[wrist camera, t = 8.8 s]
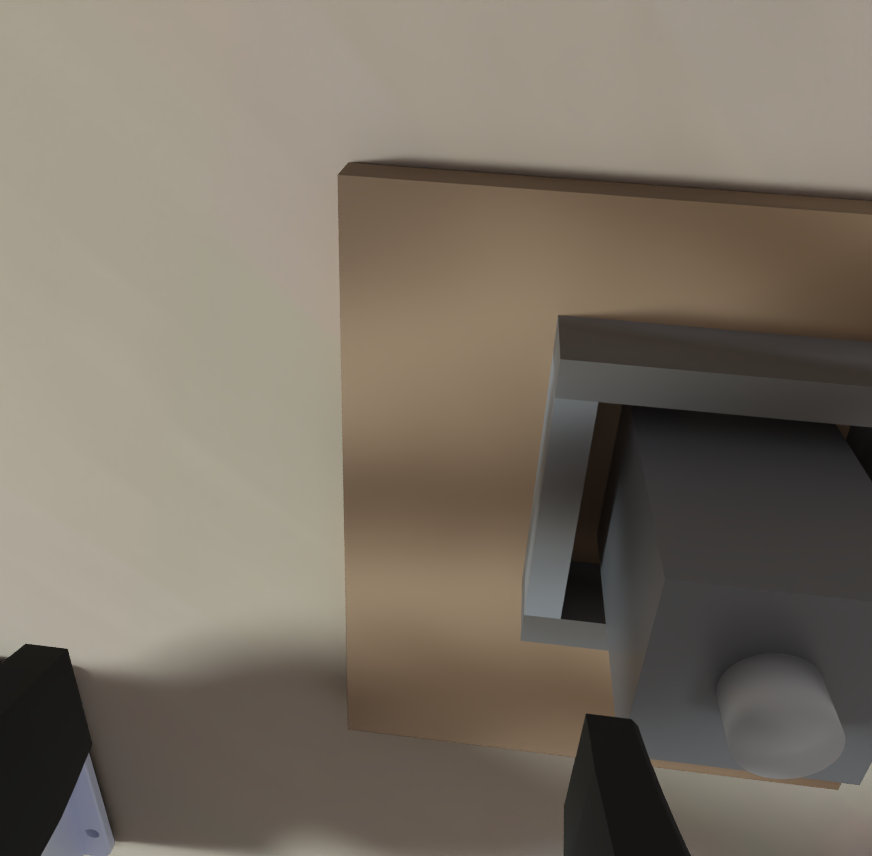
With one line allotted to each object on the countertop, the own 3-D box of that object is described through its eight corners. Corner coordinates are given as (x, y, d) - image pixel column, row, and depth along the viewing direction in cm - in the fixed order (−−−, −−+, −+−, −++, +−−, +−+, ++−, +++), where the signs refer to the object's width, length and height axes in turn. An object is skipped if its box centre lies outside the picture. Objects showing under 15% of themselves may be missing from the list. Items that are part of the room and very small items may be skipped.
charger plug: (770, 552, 18) (881, 842, 12) (597, 534, 19) (624, 808, 13) (823, 403, 16) (985, 664, 10) (626, 384, 17) (675, 629, 11)
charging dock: (826, 758, 23) (863, 859, 21) (354, 701, 24) (333, 790, 22) (1084, 216, 15) (1197, 272, 12) (348, 162, 16) (311, 204, 13)
